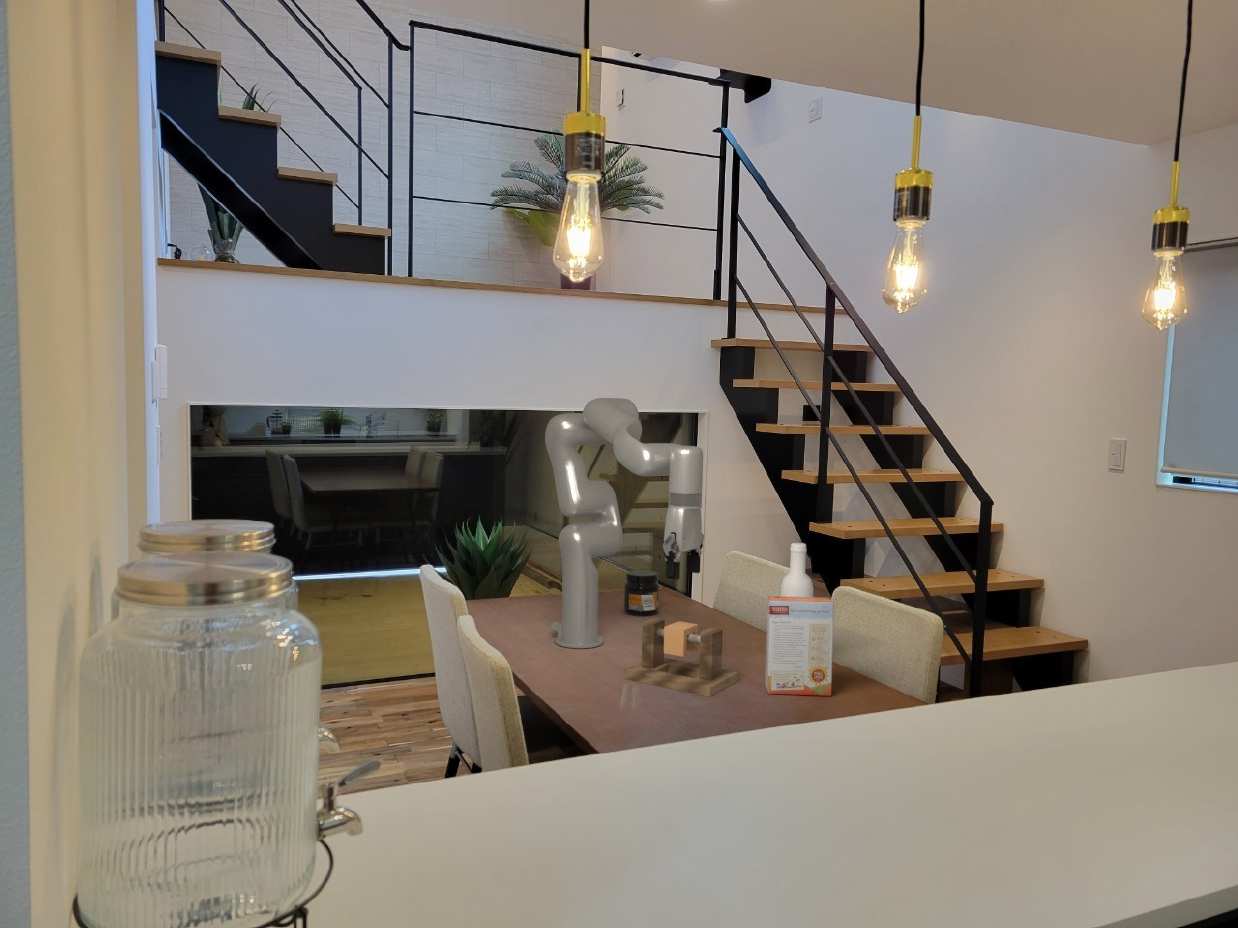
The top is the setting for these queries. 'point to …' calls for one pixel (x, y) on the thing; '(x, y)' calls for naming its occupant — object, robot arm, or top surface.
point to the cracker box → (799, 645)
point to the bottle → (797, 574)
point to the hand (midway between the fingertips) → (683, 575)
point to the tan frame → (682, 663)
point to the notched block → (679, 638)
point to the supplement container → (641, 593)
